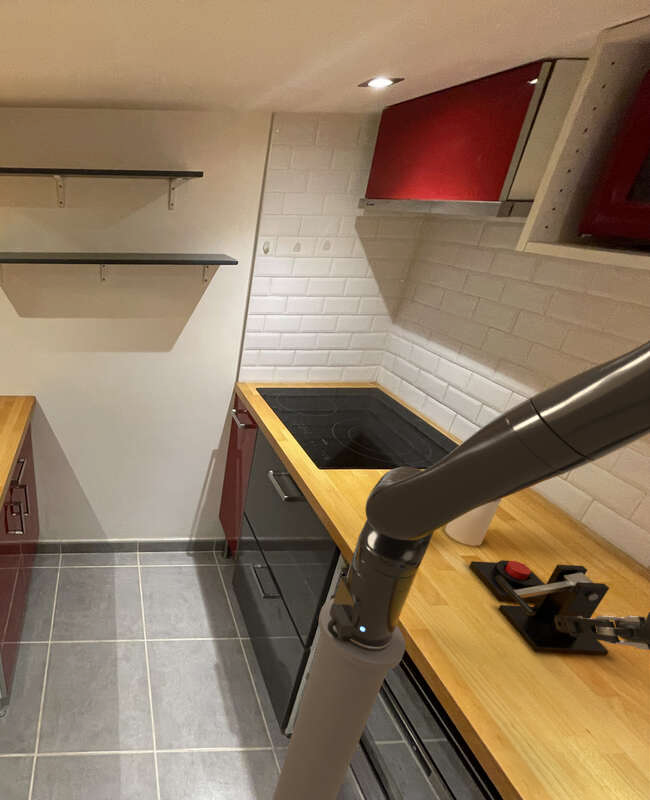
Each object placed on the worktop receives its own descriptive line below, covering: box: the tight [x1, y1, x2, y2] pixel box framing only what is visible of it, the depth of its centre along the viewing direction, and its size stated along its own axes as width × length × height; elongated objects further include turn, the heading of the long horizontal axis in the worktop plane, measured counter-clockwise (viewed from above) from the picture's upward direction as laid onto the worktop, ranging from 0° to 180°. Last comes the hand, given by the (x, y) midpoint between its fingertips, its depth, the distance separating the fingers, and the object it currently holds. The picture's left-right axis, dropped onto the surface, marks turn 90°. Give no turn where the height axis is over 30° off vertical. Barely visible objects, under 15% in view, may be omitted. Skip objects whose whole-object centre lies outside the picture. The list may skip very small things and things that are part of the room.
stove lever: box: [495, 572, 594, 616], centre depth 78 cm, size 12×8×2 cm
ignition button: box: [505, 560, 532, 580], centre depth 91 cm, size 4×4×2 cm
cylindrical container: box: [444, 498, 503, 547], centre depth 101 cm, size 7×7×25 cm
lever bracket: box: [498, 564, 610, 657], centre depth 79 cm, size 12×9×14 cm
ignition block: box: [468, 559, 547, 604], centre depth 92 cm, size 11×9×4 cm
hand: (587, 625), depth 66 cm, fingers open, 8 cm apart
